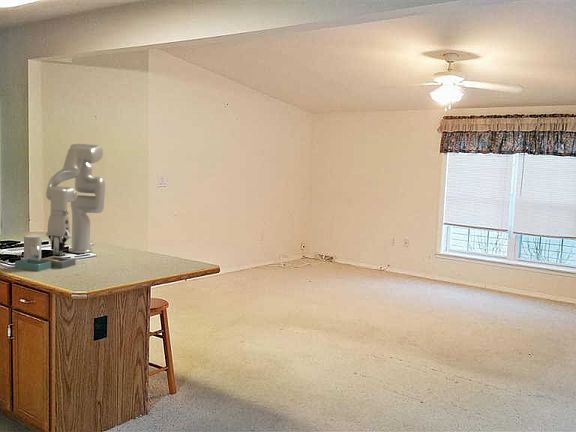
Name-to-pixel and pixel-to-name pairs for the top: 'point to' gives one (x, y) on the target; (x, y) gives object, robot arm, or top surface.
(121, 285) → the top surface
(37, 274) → the top surface
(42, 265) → the trough
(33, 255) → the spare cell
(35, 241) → the cup
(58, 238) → the steel cell
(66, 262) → the gray tray
